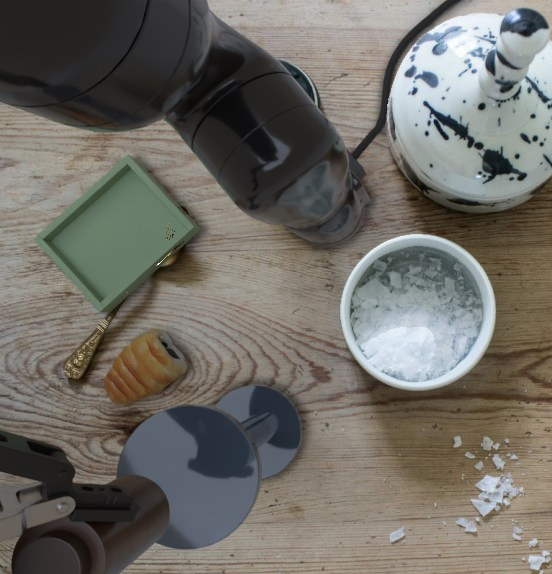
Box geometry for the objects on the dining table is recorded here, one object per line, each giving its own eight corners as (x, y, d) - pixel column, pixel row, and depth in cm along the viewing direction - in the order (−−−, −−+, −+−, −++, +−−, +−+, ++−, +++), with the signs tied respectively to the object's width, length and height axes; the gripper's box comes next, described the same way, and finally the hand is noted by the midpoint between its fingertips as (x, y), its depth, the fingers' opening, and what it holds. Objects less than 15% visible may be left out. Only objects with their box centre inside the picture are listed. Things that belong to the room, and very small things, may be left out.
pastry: (132, 416, 72) (116, 422, 69) (98, 372, 73) (79, 375, 69) (195, 366, 73) (182, 369, 69) (161, 322, 73) (146, 322, 69)
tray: (136, 159, 74) (127, 154, 72) (201, 229, 74) (194, 226, 71) (45, 241, 73) (32, 239, 71) (109, 312, 73) (99, 312, 71)
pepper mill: (135, 458, 42) (51, 501, 33) (185, 514, 42) (116, 573, 33) (78, 511, 42) (-23, 568, 33) (128, 567, 42) (42, 641, 32)
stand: (259, 359, 73) (192, 375, 52) (327, 433, 73) (288, 480, 52) (184, 428, 72) (85, 473, 51) (252, 503, 72) (181, 580, 51)
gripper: (-417, 821, 22) (89, 715, 33) (-255, 433, 22) (185, 465, 34) (-364, 679, 27) (56, 632, 39) (-235, 369, 28) (139, 416, 39)
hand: (115, 554), depth 36 cm, fingers closed on pepper mill, 5 cm apart
